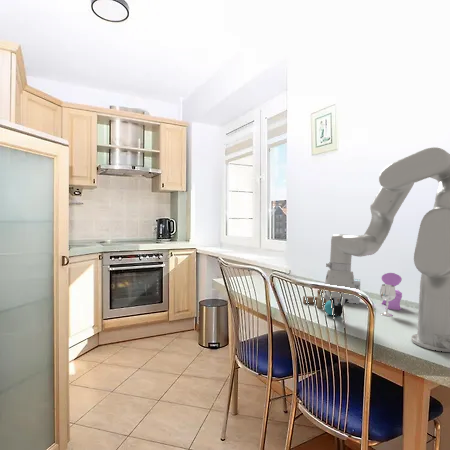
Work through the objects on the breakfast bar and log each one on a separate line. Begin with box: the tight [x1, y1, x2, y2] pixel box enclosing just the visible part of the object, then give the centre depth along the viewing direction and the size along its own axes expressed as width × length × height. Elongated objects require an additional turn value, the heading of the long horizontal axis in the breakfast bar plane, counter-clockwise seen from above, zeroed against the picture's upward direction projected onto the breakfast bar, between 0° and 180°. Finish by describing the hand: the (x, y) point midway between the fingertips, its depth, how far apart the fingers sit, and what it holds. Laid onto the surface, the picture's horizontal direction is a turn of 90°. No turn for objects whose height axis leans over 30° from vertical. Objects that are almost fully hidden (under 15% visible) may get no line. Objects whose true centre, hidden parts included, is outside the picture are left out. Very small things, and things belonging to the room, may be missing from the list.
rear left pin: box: [316, 289, 325, 310], centre depth 143 cm, size 2×2×8 cm
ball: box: [324, 300, 334, 316], centre depth 132 cm, size 6×6×6 cm
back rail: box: [302, 295, 339, 305], centre depth 149 cm, size 2×16×3 cm, turn 89°
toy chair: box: [381, 272, 403, 311], centre depth 149 cm, size 8×9×15 cm
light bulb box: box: [347, 278, 361, 305], centre depth 156 cm, size 11×7×11 cm, turn 69°
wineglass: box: [379, 283, 396, 317], centre depth 136 cm, size 6×6×12 cm
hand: (337, 315), depth 126 cm, fingers closed
